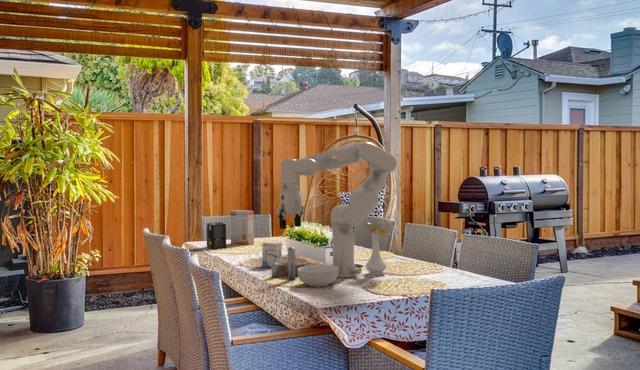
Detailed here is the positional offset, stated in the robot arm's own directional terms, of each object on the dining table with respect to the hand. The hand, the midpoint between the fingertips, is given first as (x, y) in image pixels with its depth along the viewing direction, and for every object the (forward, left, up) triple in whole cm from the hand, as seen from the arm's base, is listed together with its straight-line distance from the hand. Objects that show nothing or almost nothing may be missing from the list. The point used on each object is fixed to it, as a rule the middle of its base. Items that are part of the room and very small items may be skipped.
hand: (290, 227), depth 255 cm
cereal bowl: (-16, +2, -23) cm, 28 cm away
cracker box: (+95, -69, -23) cm, 119 cm away
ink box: (+29, -21, -23) cm, 42 cm away
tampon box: (+97, -49, -23) cm, 110 cm away
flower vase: (-24, -32, -23) cm, 46 cm away
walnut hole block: (+7, -8, -22) cm, 25 cm away
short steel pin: (+9, 0, -22) cm, 24 cm away
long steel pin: (-1, 0, -22) cm, 23 cm away
